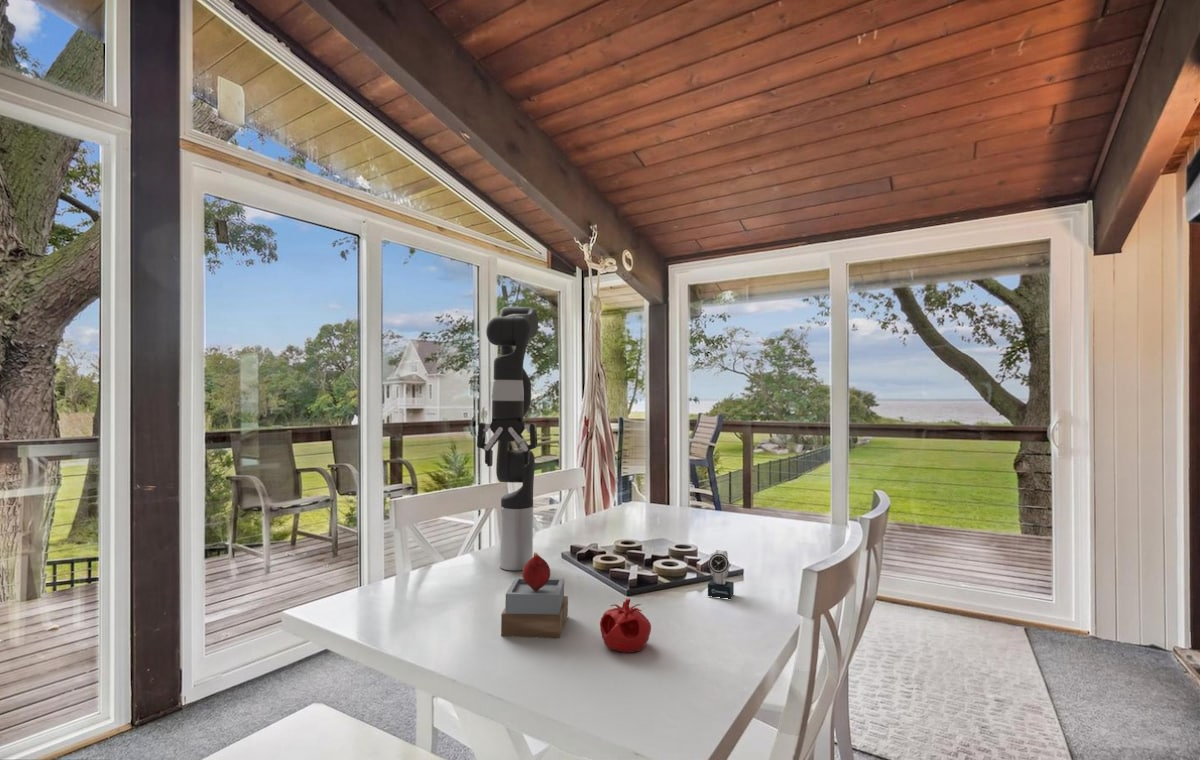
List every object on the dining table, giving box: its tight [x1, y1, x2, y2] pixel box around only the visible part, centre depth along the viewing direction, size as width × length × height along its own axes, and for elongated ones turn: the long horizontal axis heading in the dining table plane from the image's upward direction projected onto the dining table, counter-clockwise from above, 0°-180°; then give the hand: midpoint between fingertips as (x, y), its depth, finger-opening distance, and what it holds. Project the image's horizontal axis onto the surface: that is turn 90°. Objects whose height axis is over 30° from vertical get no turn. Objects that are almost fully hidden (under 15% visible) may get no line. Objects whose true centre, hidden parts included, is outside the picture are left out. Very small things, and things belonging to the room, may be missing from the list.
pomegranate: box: [599, 598, 652, 653], centre depth 116 cm, size 10×10×9 cm
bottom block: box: [500, 595, 569, 639], centre depth 125 cm, size 12×12×5 cm
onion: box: [522, 552, 551, 591], centre depth 125 cm, size 6×6×8 cm
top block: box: [504, 577, 565, 615], centre depth 125 cm, size 11×11×4 cm
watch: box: [707, 549, 735, 600], centre depth 146 cm, size 6×8×11 cm
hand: (507, 466), depth 141 cm, fingers open, 8 cm apart
